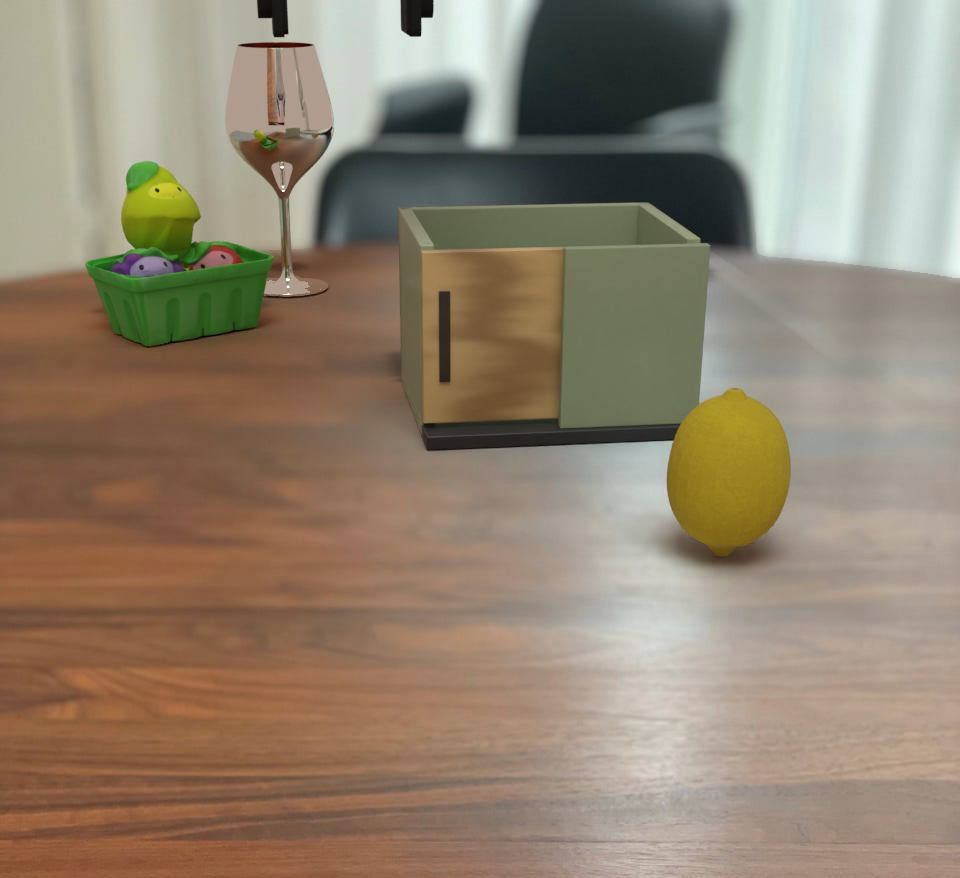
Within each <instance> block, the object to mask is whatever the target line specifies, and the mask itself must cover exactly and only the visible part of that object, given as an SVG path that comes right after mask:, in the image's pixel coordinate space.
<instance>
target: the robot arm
mask: <svg viewBox="0 0 960 878" xmlns="http://www.w3.org/2000/svg"><path fill="white" fill-rule="evenodd" d="M399 1H400V2H399V3H400V30H401V32H403V33H404V34H405V35H407V36H408V37H411V38H419V37H420V38H421V37H422V29H423V27H422V19H433V18H434V9H435V6H434V5H435V4H434V2H435V1H434V0H399ZM256 7H257V8H256V9H257V18H258V19H271V30H272V36H273V38H285V35H286V36H287V35H288V36H289V15H288V0H256Z"/></svg>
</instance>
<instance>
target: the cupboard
mask: <svg viewBox="0 0 960 878" xmlns="http://www.w3.org/2000/svg"><path fill="white" fill-rule="evenodd" d="M397 216H398V218H397V221H398V260H399V261H398V271H399V272H398V273H399V275H398V276H399V277H398V278H399V330H400V331H399V332H400V335H399V336H400V380H401V383H402V386H403V387H402V388H403V390H404V392H405V394H406V397H407V400H408V402H409V405H410V409H411V411H412V414H413V416H414V419H415V422H416V424H417V427H418V430H419V432H420V435H421V437H422V440H423V442H424V445H425V448H426V450H427V451H434V450H435V451H436V450H437V451H439V450H461V449H485V448H486V449H487V448H509V447H533V446H550V445H551V446H552V445H554V446H555V445H576V444H577V445H579V444H601V443H603V444H604V443H624V442H648V441H670V440H672V441H674V438H675V435H676V433H677V430H678V428H679V426H680V424H681V423H682V421H683V420H684V419H685V417H686V416H687V415H688V414H689V413H690V412H691V411H692V410H693V409H694V408H695V407H697V406H698V405H699V404H700V396H701V395H700V394H701V383H702V381H701V380H702V369H703V353H704V340H705V339H704V338H705V326H706V314H707V298H708V286H709V285H708V283H709V271H710V258H711V245H710V244H709V243H707V242H703V243H702V242H701V237H699V236H698V235H696V234H694V233H693V232H691V231H690V230H689V229H687V228H686V227H685V226H683V225H682V224H681V223H679V222H677V221H676V220H674V219H673V218H671V217H670V216H669V215H667V214H666V213H664V212H663V211H661V210H660V209H659V208H658V207H656V206H654V205H653V204H651V203H650V202H646V201H645V202H608V203H607V202H605V203H604V202H601V203H597V202H596V203H595V202H594V203H555V204H554V203H553V204H552V203H551V204H549V203H547V204H509V205H508V204H505V205H502V204H501V205H499V204H498V205H454V206H453V205H452V206H451V205H449V206H408V207H405V206H402V207H401V206H399V207H398V208H397ZM532 247H563V248H564V249H563V283H562V317H561V350H560V384H559V417H558V418H549V419H524V420H499V421H474V422H450V423H424V422H423V412H422V323H421V250H451V249H492V248H532Z"/></svg>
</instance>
